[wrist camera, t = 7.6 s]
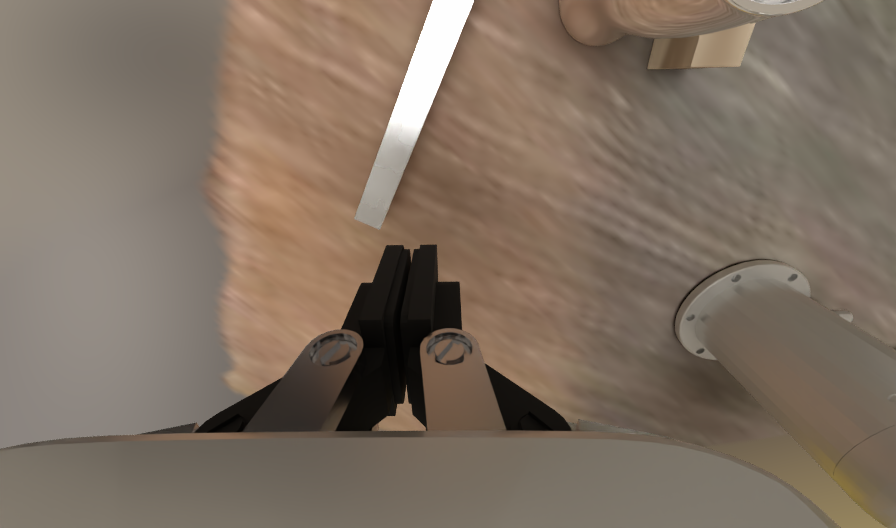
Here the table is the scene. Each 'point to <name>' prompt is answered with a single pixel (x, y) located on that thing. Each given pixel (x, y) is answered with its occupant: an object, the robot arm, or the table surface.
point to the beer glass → (666, 17)
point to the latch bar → (413, 106)
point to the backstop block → (702, 50)
